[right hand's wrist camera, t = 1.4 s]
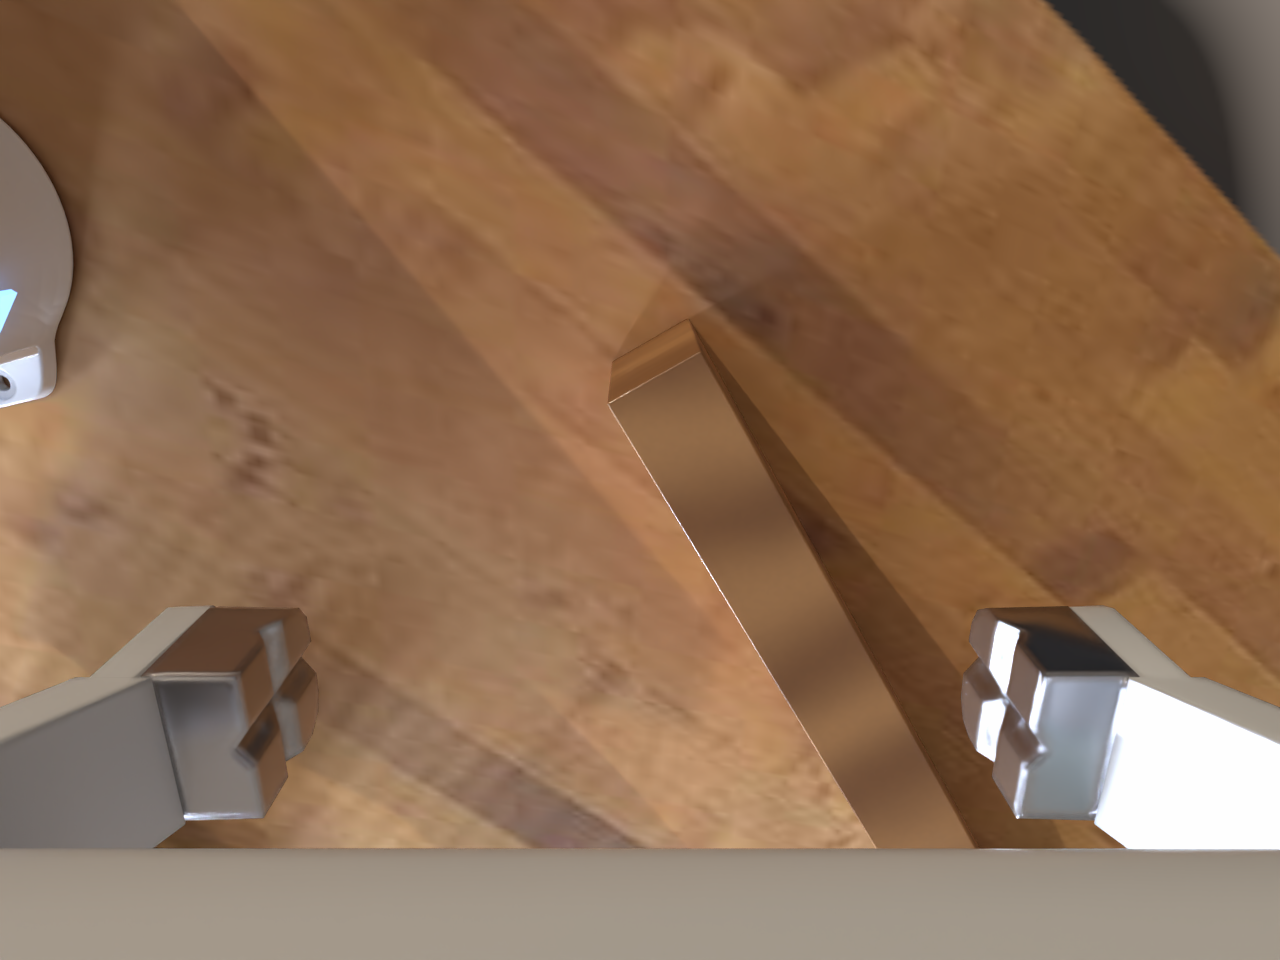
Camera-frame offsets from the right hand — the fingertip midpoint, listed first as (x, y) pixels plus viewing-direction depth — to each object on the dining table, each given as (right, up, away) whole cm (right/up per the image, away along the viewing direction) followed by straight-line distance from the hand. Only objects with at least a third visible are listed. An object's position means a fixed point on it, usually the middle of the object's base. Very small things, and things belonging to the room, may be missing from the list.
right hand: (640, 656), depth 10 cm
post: (+18, -18, +44) cm, 51 cm away
